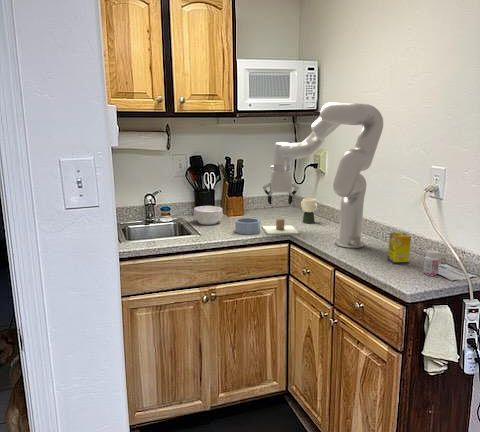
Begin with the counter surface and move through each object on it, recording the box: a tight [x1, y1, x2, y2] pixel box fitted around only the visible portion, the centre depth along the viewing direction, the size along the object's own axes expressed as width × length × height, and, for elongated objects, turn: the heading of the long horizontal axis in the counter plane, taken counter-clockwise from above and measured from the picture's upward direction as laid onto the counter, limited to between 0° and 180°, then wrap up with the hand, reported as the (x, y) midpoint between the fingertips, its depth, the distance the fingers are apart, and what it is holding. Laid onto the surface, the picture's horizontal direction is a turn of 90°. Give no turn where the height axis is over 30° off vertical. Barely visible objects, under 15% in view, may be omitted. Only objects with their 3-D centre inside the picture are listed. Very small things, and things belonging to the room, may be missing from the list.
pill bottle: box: [423, 249, 440, 276], centre depth 159 cm, size 5×5×8 cm
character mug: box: [300, 197, 319, 224], centre depth 238 cm, size 11×7×13 cm, turn 43°
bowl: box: [234, 217, 262, 236], centre depth 217 cm, size 12×12×6 cm
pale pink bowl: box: [193, 205, 224, 226], centre depth 237 cm, size 15×15×8 cm
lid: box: [261, 217, 300, 236], centre depth 219 cm, size 15×15×6 cm
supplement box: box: [387, 232, 412, 265], centre depth 173 cm, size 6×6×11 cm
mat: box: [260, 226, 301, 236], centre depth 219 cm, size 16×16×1 cm
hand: (279, 204), depth 217 cm, fingers open, 9 cm apart
